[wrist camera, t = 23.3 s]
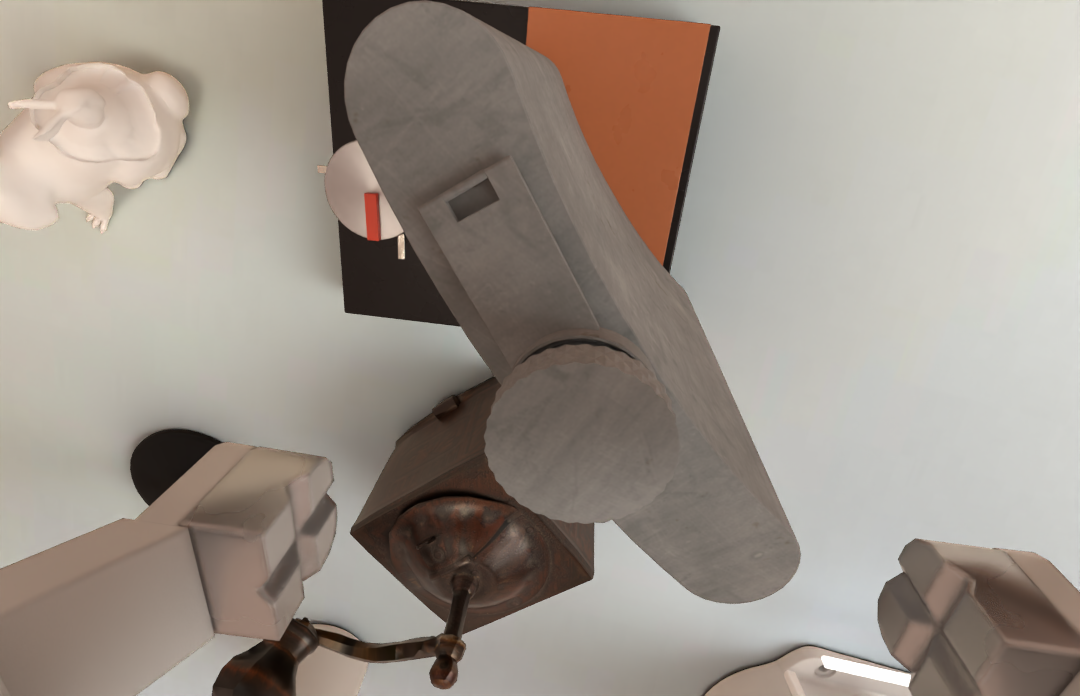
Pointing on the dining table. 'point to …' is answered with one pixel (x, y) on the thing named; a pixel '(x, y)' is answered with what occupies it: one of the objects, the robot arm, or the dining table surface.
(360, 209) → the hob knob
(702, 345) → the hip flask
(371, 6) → the plate
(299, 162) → the dining table surface
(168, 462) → the wine glass
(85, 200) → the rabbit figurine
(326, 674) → the milk bottle
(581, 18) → the heating pad
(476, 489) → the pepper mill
